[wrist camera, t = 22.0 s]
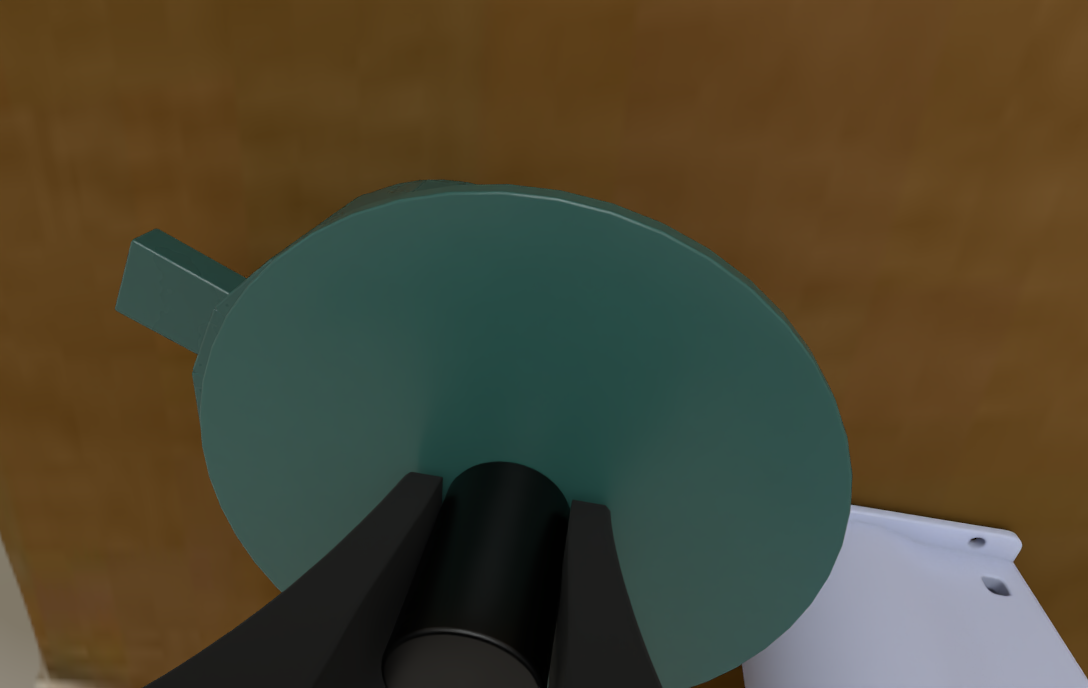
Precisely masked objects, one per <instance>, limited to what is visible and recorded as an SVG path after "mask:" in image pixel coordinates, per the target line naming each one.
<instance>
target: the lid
mask: <svg viewBox="0 0 1088 688" xmlns="http://www.w3.org/2000/svg"><path fill="white" fill-rule="evenodd" d="M200 423H201V437H202V447H203V451H204V456H205V460H206V464H207V469H208V473H209V477H210V480H211V482H212V485H213V488H214V490H215V493H216V496H217V498H218V501H219V503H220V506H221V508H222V510H223V512H224V514H225V516H226V518H227V519H228V521H229V523H230V525H231V527H232V529H233V531H234V532H235V534H236V536H237V537H238V539H239V540H240V542H241V543H242V545H243V546H244V547H245V549H246V550H247V552H248V553H249V555H250V556H251V558H252V559H253V560H254V562H255V563H256V564H257V565H258V566H259V568H260V569H261V570H262V571H263V572H264V573H265V575H266V576H267V577H268V578H269V579H270V580H271V581H272V583H273V584H274V585H275V586H276V587H277V588H278V589H279V590H280V591H281V592H283V591H284V590H286V589H287V588H288V587H289V586H290V585H292V584H293V583H294V582H295V581H296V580H297V579H299V578H300V577H301V576H302V575H303V574H304V573H306V572H307V571H308V570H309V569H310V568H311V567H313V566H314V565H315V564H316V563H317V562H318V561H320V560H321V559H322V558H323V557H324V556H325V555H326V554H327V553H329V552H330V551H331V550H332V549H333V548H334V547H335V546H336V545H337V544H338V543H339V542H340V541H341V540H342V539H343V538H344V537H346V536H347V535H348V534H349V533H350V532H351V531H352V530H353V529H354V528H355V527H356V526H357V525H358V524H359V523H360V522H361V521H362V520H363V519H364V518H365V517H366V516H367V515H368V514H369V513H370V512H371V511H372V510H373V509H374V508H375V507H376V506H377V505H378V504H379V503H380V502H381V501H382V500H383V499H384V498H385V497H386V495H387V494H388V493H389V492H390V491H391V490H392V489H393V488H394V487H395V486H396V485H397V484H398V482H399V481H400V480H401V479H402V478H403V477H404V476H405V475H406V474H408V473H409V472H416V473H422V474H428V475H433V476H439V477H443V487H442V506H441V509H440V511H439V514H438V516H437V519H436V521H435V524H434V527H433V529H432V532H431V534H430V537H429V539H428V542H427V544H426V547H425V549H424V552H423V555H422V557H421V560H420V562H419V565H418V567H417V570H416V572H415V575H414V577H413V580H412V583H411V585H410V588H409V590H408V593H407V595H406V598H405V600H404V603H403V606H402V608H401V611H400V613H399V616H398V618H397V621H396V623H395V626H394V628H393V631H392V634H391V636H390V639H389V641H388V644H387V646H386V649H385V651H384V654H383V657H382V662H381V671H382V678H383V682H384V684H385V686H386V688H548V684H549V671H550V664H551V657H552V650H553V642H554V635H555V628H556V621H557V614H558V607H559V600H560V590H561V577H562V564H563V557H564V550H565V543H566V536H567V529H568V522H569V516H570V510H571V504H572V499H573V500H578V501H584V502H590V503H596V504H602V505H606V506H607V508H608V509H609V510H610V511H611V523H612V530H613V536H614V541H615V546H616V551H617V555H618V559H619V564H620V568H621V571H622V575H623V579H624V582H625V586H626V589H627V592H628V595H629V599H630V602H631V605H632V608H633V611H634V615H635V617H636V620H637V623H638V626H639V629H640V632H641V635H642V637H643V640H644V642H645V645H646V648H647V650H648V653H649V656H650V658H651V661H652V663H653V666H654V668H655V671H656V673H657V675H658V678H659V680H660V683H661V685H662V687H663V688H690V687H693V686H696V685H699V684H701V683H704V682H707V681H709V680H711V679H714V678H716V677H718V676H720V675H722V674H724V673H726V672H728V671H730V670H732V669H734V668H736V667H738V666H740V665H741V664H743V663H744V662H746V661H747V660H749V659H751V658H752V657H754V656H755V655H757V654H758V653H760V652H761V651H763V650H764V649H766V648H767V647H768V646H769V645H771V644H772V643H773V642H774V641H775V640H776V639H778V638H779V637H780V636H781V635H782V634H784V633H785V632H786V631H787V630H788V629H789V628H791V626H792V625H793V624H794V623H795V622H796V621H797V620H798V619H799V617H800V616H801V615H802V614H803V613H804V612H805V611H806V610H807V608H808V607H809V606H810V605H811V604H812V602H813V601H814V599H815V598H816V596H817V595H818V593H819V591H820V590H821V588H822V587H823V585H824V584H825V582H826V581H827V579H828V577H829V576H830V573H831V571H832V569H833V566H834V564H835V562H836V559H837V557H838V555H839V552H840V550H841V548H842V545H843V541H844V537H845V533H846V528H847V524H848V520H849V515H850V511H851V492H852V469H851V461H850V454H849V446H848V439H847V435H846V432H845V428H844V425H843V422H842V419H841V416H840V413H839V410H838V407H837V404H836V400H835V398H834V395H833V393H832V391H831V389H830V387H829V385H828V383H827V381H826V379H825V377H824V375H823V373H822V371H821V369H820V368H819V366H818V364H817V362H816V360H815V358H814V356H813V354H812V352H811V350H810V349H809V347H808V346H807V344H806V343H805V342H804V340H803V339H802V338H801V336H800V335H799V334H798V332H797V331H796V330H795V328H794V327H793V326H792V324H791V323H790V322H789V320H788V319H787V317H786V316H785V315H784V313H783V312H782V311H781V310H780V309H779V308H778V307H777V306H776V305H775V304H774V303H773V302H772V301H771V300H770V299H769V298H768V297H767V296H766V295H765V294H764V293H763V292H762V291H761V290H760V289H759V288H758V287H757V286H756V285H755V284H754V283H753V282H752V281H751V280H750V279H748V278H747V277H746V276H744V275H743V274H742V273H740V272H739V271H738V270H736V269H735V268H734V267H732V266H731V265H730V264H728V263H727V262H726V261H724V260H723V259H722V258H720V257H719V256H718V255H716V254H715V253H714V252H712V251H711V250H710V249H708V248H706V247H705V246H703V245H701V244H699V243H697V242H696V241H694V240H692V239H690V238H688V237H687V236H685V235H683V234H681V233H679V232H678V231H676V230H674V229H672V228H670V227H669V226H667V225H665V224H663V223H661V222H658V221H656V220H653V219H651V218H648V217H646V216H643V215H641V214H638V213H636V212H633V211H630V210H628V209H625V208H623V207H620V206H618V205H615V204H612V203H608V202H605V201H601V200H597V199H593V198H589V197H585V196H581V195H577V194H573V193H569V192H565V191H561V190H552V189H544V188H535V187H527V186H518V185H510V184H493V185H453V186H446V187H440V188H433V189H427V190H420V191H414V192H407V193H404V194H400V195H397V196H394V197H390V198H387V199H384V200H380V201H377V202H374V203H370V204H367V205H364V206H361V207H359V208H357V209H355V210H353V211H350V212H348V213H346V214H344V215H342V216H340V217H338V218H336V219H334V220H332V221H329V222H327V223H325V224H323V225H321V226H320V227H318V228H317V229H315V230H314V231H312V232H311V233H310V234H308V235H307V236H305V237H304V238H302V239H301V240H299V241H298V242H297V243H295V244H294V245H292V246H291V247H289V248H288V249H286V250H285V251H284V252H282V253H281V254H280V255H278V256H277V257H276V258H275V259H274V260H273V261H272V262H271V263H270V264H269V265H268V266H267V267H266V268H265V269H264V270H263V271H262V272H261V273H259V274H258V275H257V276H256V277H255V278H254V279H253V280H252V281H251V282H250V283H249V284H248V286H247V287H246V288H245V290H244V291H243V293H242V294H241V295H240V297H239V298H238V300H237V301H236V302H235V304H234V305H233V307H232V308H231V309H230V311H229V312H228V314H227V315H226V317H225V320H224V322H223V324H222V326H221V328H220V330H219V332H218V334H217V336H216V339H215V341H214V343H213V345H212V348H211V351H210V355H209V359H208V363H207V366H206V370H205V374H204V377H203V383H202V394H201V405H200Z"/></svg>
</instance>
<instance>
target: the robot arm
mask: <svg viewBox="0 0 1088 688" xmlns="http://www.w3.org/2000/svg"><path fill="white" fill-rule="evenodd" d="M442 487H443V477H439V476H433V475H428V474H422V473H416V472H409V473H408V474H406V475H405V476H404V477H403V478H402V479H401V480H400V481H399V482H398V484H397V485H396V486H395V487H394V488H393V489H392V490H391V491H390V492H389V493H388V494H387V495H386V497H385V498H384V499H383V500H382V501H381V502H380V503H379V504H378V505H377V506H376V507H375V508H374V509H373V510H372V511H371V512H370V513H369V514H368V515H367V516H366V517H365V518H364V519H363V520H362V521H361V522H360V523H359V524H358V525H357V526H356V527H355V528H354V529H353V530H352V531H351V532H350V533H349V534H348V535H347V536H346V537H344V538H343V539H342V540H341V541H340V542H339V543H338V544H337V545H336V546H335V547H334V548H333V549H332V550H331V551H330V552H329V553H327V554H326V555H325V556H324V557H323V558H322V559H321V560H320V561H318V562H317V563H316V564H315V565H314V566H313V567H311V568H310V569H309V570H308V571H307V572H306V573H304V574H303V575H302V576H301V577H300V578H299V579H297V580H296V581H295V582H294V583H293V584H292V585H290V586H289V587H288V588H287V589H286V590H284V591H283V592H282V593H281V594H279V595H278V596H277V597H276V598H274V599H273V600H272V601H271V602H269V603H268V604H267V605H265V606H264V607H263V608H261V609H260V610H259V611H257V612H256V613H255V614H253V615H252V616H251V617H249V618H248V619H247V620H245V621H244V622H243V623H241V624H240V625H239V626H237V627H236V628H234V629H233V630H232V631H230V632H229V633H227V634H226V635H224V636H223V637H221V638H220V639H218V640H217V641H215V642H214V643H213V644H211V645H210V646H208V647H207V648H205V649H204V650H202V651H201V652H199V653H198V654H196V655H195V656H193V657H192V658H190V659H189V660H187V661H186V662H184V663H182V664H181V665H179V666H178V667H176V668H175V669H173V670H171V671H170V672H168V673H167V674H165V675H163V676H162V677H160V678H158V679H156V680H155V681H153V682H151V683H150V684H148V685H146V686H144V687H143V688H386V686H385V684H384V682H383V678H382V671H381V662H382V657H383V654H384V651H385V649H386V646H387V644H388V641H389V639H390V636H391V634H392V631H393V628H394V626H395V623H396V621H397V618H398V616H399V613H400V611H401V608H402V606H403V603H404V600H405V598H406V595H407V593H408V590H409V588H410V585H411V583H412V580H413V577H414V575H415V572H416V570H417V567H418V565H419V562H420V560H421V557H422V555H423V552H424V549H425V547H426V544H427V542H428V539H429V537H430V534H431V532H432V529H433V527H434V524H435V521H436V519H437V516H438V514H439V511H440V509H441V506H442ZM973 538H977V539H975V540H971V539H973ZM1021 547H1022V543H1021V541H1020V539H1019V538H1018V536H1017V535H1016V534H1015V533H1014V532H1011V531H1008V530H1003V529H996V528H990V527H984V526H978V525H972V524H966V523H960V522H954V521H948V520H941V519H935V518H929V517H923V516H917V515H911V514H905V513H899V512H893V511H887V510H880V509H874V508H868V507H862V506H856V505H851V511H850V515H849V520H848V524H847V528H846V533H845V537H844V541H843V545H842V548H841V550H840V552H839V555H838V557H837V559H836V562H835V564H834V566H833V569H832V571H831V573H830V576H829V577H828V579H827V581H826V582H825V584H824V585H823V587H822V588H821V590H820V591H819V593H818V595H817V596H816V598H815V599H814V601H813V602H812V604H811V605H810V606H809V607H808V608H807V610H806V611H805V612H804V613H803V614H802V615H801V616H800V617H799V619H798V620H797V621H796V622H795V623H794V624H793V625H792V626H791V628H789V629H788V630H787V631H786V632H785V633H784V634H782V635H781V636H780V637H779V638H778V639H776V640H775V641H774V642H773V643H772V644H771V645H769V646H768V647H767V648H766V649H764V650H763V651H761V652H760V653H758V654H757V655H755V656H754V657H752V658H751V659H749V660H747V661H746V662H744V663H743V664H742V668H743V675H744V683H745V688H1088V679H1087V677H1086V676H1085V674H1084V673H1083V671H1082V670H1081V668H1080V666H1079V665H1078V663H1077V662H1076V660H1075V659H1074V657H1073V656H1072V654H1071V652H1070V651H1069V649H1068V648H1067V646H1066V645H1065V643H1064V641H1063V640H1062V638H1061V637H1060V635H1059V634H1058V632H1057V630H1056V629H1055V627H1054V626H1053V624H1052V623H1051V621H1050V619H1049V618H1048V616H1047V615H1046V613H1045V612H1044V610H1043V608H1042V607H1041V605H1040V604H1039V602H1038V601H1037V599H1036V597H1035V596H1034V594H1033V593H1032V591H1031V590H1030V588H1029V586H1028V585H1027V583H1026V582H1025V580H1024V579H1023V577H1022V575H1021V574H1020V572H1019V571H1018V569H1017V568H1016V566H1015V564H1014V563H1013V561H1014V560H1015V558H1016V556H1017V555H1018V553H1019V552H1020V550H1021ZM548 688H663V687H662V685H661V683H660V680H659V678H658V675H657V673H656V671H655V668H654V666H653V663H652V661H651V658H650V656H649V653H648V650H647V648H646V645H645V642H644V640H643V637H642V635H641V632H640V629H639V626H638V623H637V620H636V617H635V615H634V611H633V608H632V605H631V602H630V599H629V595H628V592H627V589H626V586H625V582H624V579H623V575H622V571H621V568H620V564H619V559H618V555H617V551H616V546H615V541H614V536H613V530H612V523H611V511H610V510H609V509H608V508H607V506H606V505H602V504H596V503H590V502H584V501H578V500H573V499H572V504H571V510H570V516H569V522H568V529H567V536H566V543H565V550H564V557H563V564H562V577H561V590H560V600H559V607H558V614H557V621H556V628H555V635H554V642H553V650H552V657H551V664H550V671H549V684H548Z"/></svg>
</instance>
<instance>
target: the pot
mask: <svg viewBox="0 0 1088 688" xmlns="http://www.w3.org/2000/svg"><path fill="white" fill-rule="evenodd" d="M453 185H476V184H472V183H468V182H460V181H451V180H419V181H413V182H407V183H400V184H396V185H393V186H390V187H386V188H383V189H380V190H377V191H375V192H373V193H369V194H364V195H361V196H360V197H357V198H356V199H354V200H353V201H351V202H350V203H349V204H347V205H346V206H344V207H343V208H342V209H340V210H339V211H337V212H336V213H334V214H333V215H332V216H330V217H329V218H327V219H326V220H325V221H323V222H322V223H320V224H319V225H317V226H316V227H315V228H313V229H312V230H310V231H309V232H308V233H306V234H305V235H303V236H302V237H301V238H299V239H298V240H296V241H295V242H293V243H292V244H291V245H289V246H288V247H286V248H285V249H284V250H282V251H281V252H279V253H278V254H276V255H275V256H274V257H272V258H271V259H269V260H268V261H267V262H266V263H265V264H263V265H262V266H261V267H260V268H259V269H258V270H256V271H255V272H254V273H253V274H252V275H250V276H249V277H248V278H245V277H243V276H241V275H239V274H238V273H236V272H234V271H232V270H231V269H229V268H227V267H225V266H223V265H222V264H220V263H218V262H216V261H214V260H213V259H211V258H209V257H207V256H206V255H204V254H202V253H200V252H198V251H197V250H195V249H193V248H191V247H190V246H188V245H186V244H184V243H182V242H181V241H179V240H177V239H175V238H173V237H172V236H170V235H168V234H166V233H165V232H163V231H161V230H159V229H154V230H152V231H150V232H147V233H145V234H143V235H141V236H139V237H137V238H135V239H133V240H132V242H131V245H130V249H129V254H128V258H127V262H126V266H125V270H124V274H123V278H122V282H121V286H120V290H119V294H118V298H117V303H116V307H115V310H116V311H118V312H120V313H121V314H123V315H125V316H127V317H129V318H131V319H133V320H134V321H136V322H138V323H140V324H142V325H144V326H146V327H147V328H149V329H151V330H153V331H155V332H157V333H159V334H160V335H162V336H164V337H166V338H168V339H170V340H172V341H173V342H175V343H177V344H179V345H181V346H183V347H185V348H186V349H188V350H190V351H192V352H194V353H196V354H198V356H197V359H196V362H195V365H194V367H193V372H192V376H193V382H194V389H195V395H196V401H197V407H198V414H199V420H200V405H201V394H202V383H203V377H204V374H205V370H206V366H207V363H208V359H209V355H210V351H211V348H212V345H213V343H214V341H215V339H216V336H217V334H218V332H219V330H220V328H221V326H222V324H223V322H224V320H225V317H226V315H227V314H228V312H229V311H230V309H231V308H232V307H233V305H234V304H235V302H236V301H237V300H238V298H239V297H240V295H241V294H242V293H243V291H244V290H245V288H246V287H247V286H248V284H249V283H250V282H251V281H252V280H253V279H254V278H255V277H256V276H257V275H258V274H259V273H261V272H262V271H263V270H264V269H265V268H266V267H267V266H268V265H269V264H270V263H271V262H272V261H273V260H274V259H275V258H276V257H277V256H278V255H280V254H281V253H282V252H284V251H285V250H286V249H288V248H289V247H291V246H292V245H294V244H295V243H297V242H298V241H299V240H301V239H302V238H304V237H305V236H307V235H308V234H310V233H311V232H312V231H314V230H315V229H317V228H318V227H320V226H321V225H323V224H325V223H327V222H329V221H332V220H334V219H336V218H338V217H340V216H342V215H344V214H346V213H348V212H350V211H353V210H355V209H357V208H359V207H361V206H364V205H367V204H370V203H374V202H377V201H380V200H384V199H387V198H390V197H394V196H397V195H400V194H404V193H407V192H414V191H420V190H427V189H433V188H440V187H446V186H453ZM200 426H201V423H200Z"/></svg>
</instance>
